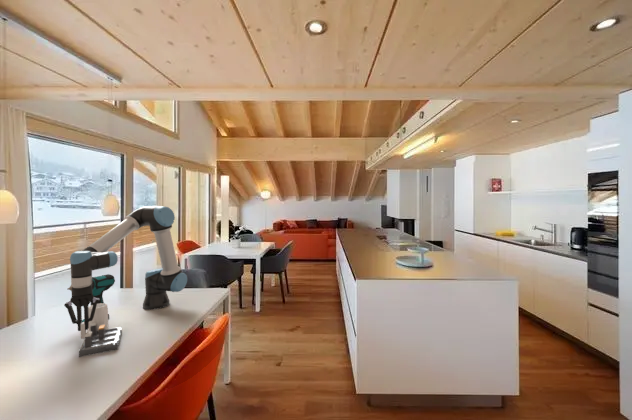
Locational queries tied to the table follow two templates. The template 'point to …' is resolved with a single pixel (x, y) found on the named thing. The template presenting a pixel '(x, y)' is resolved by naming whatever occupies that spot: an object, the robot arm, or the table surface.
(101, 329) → the block
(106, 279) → the power drill
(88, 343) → the block
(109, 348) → the panel
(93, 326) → the block
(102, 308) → the cup
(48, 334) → the table surface
